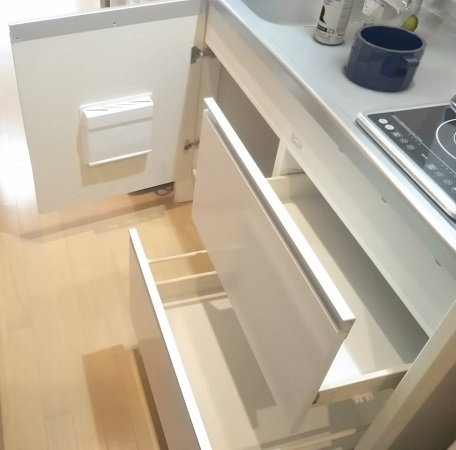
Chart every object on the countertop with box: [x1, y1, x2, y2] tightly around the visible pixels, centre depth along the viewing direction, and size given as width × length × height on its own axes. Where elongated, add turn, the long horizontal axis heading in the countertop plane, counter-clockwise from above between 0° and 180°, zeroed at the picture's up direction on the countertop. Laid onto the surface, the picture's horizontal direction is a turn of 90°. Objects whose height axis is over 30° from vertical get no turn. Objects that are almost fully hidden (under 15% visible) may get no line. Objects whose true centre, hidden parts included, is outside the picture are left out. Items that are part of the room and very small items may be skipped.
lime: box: [400, 13, 419, 33], centre depth 127 cm, size 4×5×5 cm
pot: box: [344, 22, 428, 93], centre depth 108 cm, size 14×19×8 cm
